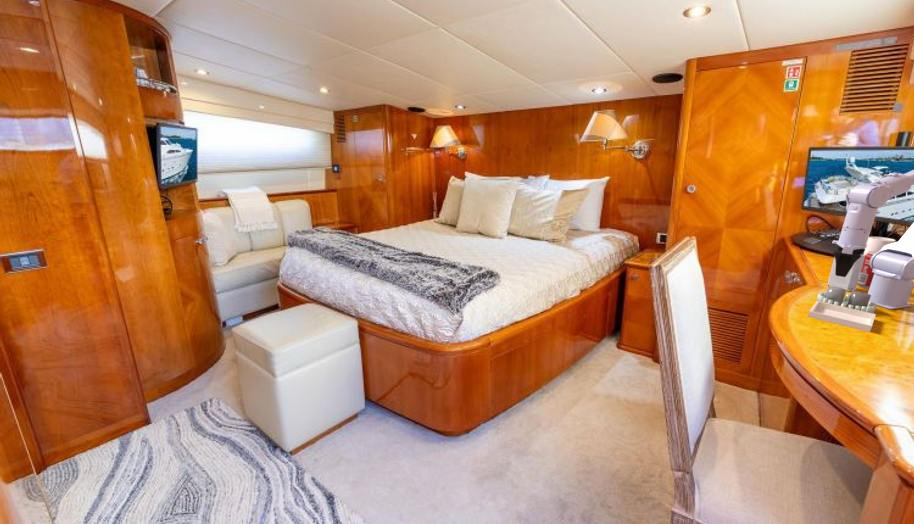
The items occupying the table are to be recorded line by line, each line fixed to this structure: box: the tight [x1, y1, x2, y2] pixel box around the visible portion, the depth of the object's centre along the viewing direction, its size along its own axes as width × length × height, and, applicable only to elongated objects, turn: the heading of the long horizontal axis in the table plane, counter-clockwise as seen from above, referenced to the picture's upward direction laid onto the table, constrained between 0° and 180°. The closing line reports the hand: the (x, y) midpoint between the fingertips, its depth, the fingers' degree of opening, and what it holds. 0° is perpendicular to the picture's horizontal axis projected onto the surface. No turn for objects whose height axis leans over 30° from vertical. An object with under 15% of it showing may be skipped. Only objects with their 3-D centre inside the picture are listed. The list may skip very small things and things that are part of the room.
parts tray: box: [807, 300, 877, 333], centre depth 105 cm, size 12×12×2 cm
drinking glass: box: [862, 236, 897, 255], centre depth 138 cm, size 7×7×15 cm
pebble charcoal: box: [847, 290, 871, 311], centre depth 111 cm, size 4×4×4 cm
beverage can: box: [857, 252, 876, 290], centre depth 129 cm, size 6×6×12 cm
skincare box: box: [827, 254, 865, 292], centre depth 129 cm, size 6×4×12 cm
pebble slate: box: [825, 286, 848, 305], centre depth 115 cm, size 4×4×4 cm
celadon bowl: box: [816, 291, 878, 314], centre depth 114 cm, size 12×12×3 cm
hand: (842, 273), depth 113 cm, fingers open, 7 cm apart
